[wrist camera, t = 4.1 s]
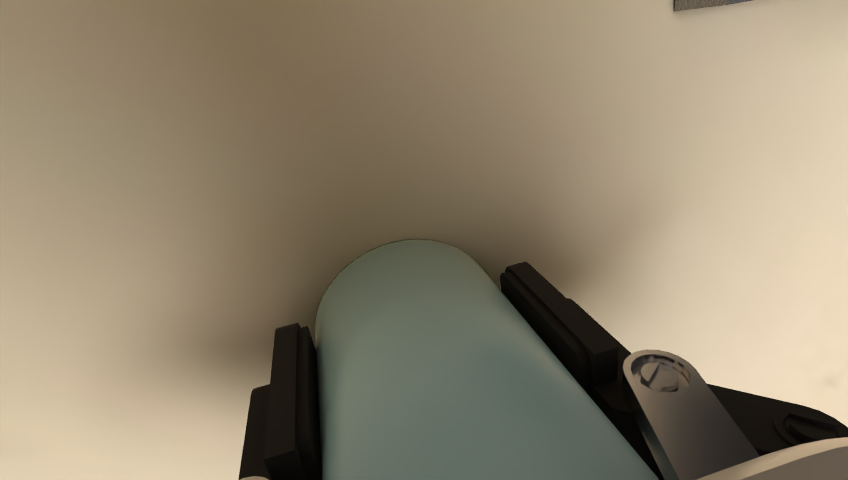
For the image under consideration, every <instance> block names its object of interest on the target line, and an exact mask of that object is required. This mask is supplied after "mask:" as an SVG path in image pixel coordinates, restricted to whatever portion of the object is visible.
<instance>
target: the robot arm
mask: <svg viewBox="0 0 848 480" xmlns="http://www.w3.org/2000/svg"><path fill="white" fill-rule="evenodd" d="M500 283H501V292H502V293H503V294H504V295H505V296H506V298H507V299H508V300H509V301H510V302H511V304H512V305H513V306H514V307H515V308H516V310H517V311H518V312H519V313H520V314H521V316H522V317H523V318H524V319H525V320H526V321H527V323H528V324H529V325H530V326H531V327H532V329H533V330H534V331H535V332H536V333H537V335H538V336H539V337H540V338H541V339H542V341H543V342H544V343H545V344H546V345H547V346H548V348H549V349H550V350H551V351H552V352H553V354H554V355H555V356H556V357H557V358H558V360H559V361H560V362H561V363H562V364H563V366H564V367H565V368H566V369H567V370H568V371H569V373H570V374H571V375H572V376H573V377H574V379H575V380H576V381H577V382H578V383H579V385H580V386H581V387H582V388H583V389H584V391H585V392H586V393H587V394H588V395H589V396H590V398H591V399H592V400H593V401H594V402H595V404H596V405H597V406H598V407H599V408H600V410H601V411H602V412H603V413H604V414H605V416H606V417H607V418H608V419H609V420H610V421H611V423H612V424H613V425H614V426H615V427H616V429H617V430H618V431H619V432H620V433H621V435H622V436H623V437H624V438H625V439H626V441H627V442H628V443H629V444H630V445H631V446H632V448H633V449H634V450H635V451H636V452H637V454H638V455H639V456H640V457H641V458H642V460H643V461H644V462H645V463H646V464H647V466H648V467H649V468H650V469H651V470H652V471H653V473H654V474H655V475H656V476H657V477H658V479H659V480H848V428H847V427H846V426H845V425H843V424H842V423H841V422H839V421H838V420H836V419H835V418H833V417H831V416H829V415H827V414H825V413H823V412H821V411H819V410H815V409H812V408H809V407H806V406H802V405H798V404H793V403H789V402H784V401H780V400H776V399H771V398H767V397H763V396H758V395H754V394H750V393H745V392H741V391H736V390H732V389H728V388H723V387H719V386H715V385H710V384H706V383H705V381H704V380H703V379H702V377H701V376H700V374H699V373H698V372H697V370H696V369H695V368H694V367H693V366H692V365H691V364H690V363H689V362H687V361H686V360H684V359H683V358H681V357H679V356H677V355H674V354H672V353H669V352H665V351H660V350H642V351H637V352H635V353H633V354H631V353H630V352H629V351H628V350H627V349H626V348H625V347H624V346H623V345H621V344H620V343H619V342H618V341H617V340H616V339H615V338H614V337H613V336H612V335H610V334H609V333H608V332H607V331H606V330H605V329H604V328H603V327H602V326H601V325H599V324H598V323H597V322H596V321H595V320H594V319H593V318H592V317H591V316H590V315H588V314H587V313H586V312H585V311H584V310H583V309H582V308H581V307H580V306H579V305H577V304H576V303H575V302H574V301H573V300H571V299H568V298H565V297H564V296H563V295H562V294H561V293H560V292H559V291H558V290H557V289H556V288H555V287H553V286H552V285H551V284H550V283H549V282H548V281H547V280H546V279H545V278H544V277H543V276H542V275H540V274H539V273H538V272H537V271H536V270H535V269H534V268H533V267H532V266H531V265H530V264H529V263H527V262H523V263H519V264H515V265H511V266H508V267H506V269H505V273H501V275H500ZM239 480H322V463H321V442H320V422H319V401H318V380H317V360H316V349H315V346H314V343H313V340H312V337H311V334H310V331H309V328H308V327H307V326H306V327H302V328H300V326H299V324H298V323H295V324H292V325H288V326H284V327H280V328H277V329H276V330H275V339H274V349H273V360H272V370H271V381H270V384H268V385H265V386H261V387H258V388H254V389H253V391H252V394H251V399H250V406H249V412H248V419H247V426H246V433H245V440H244V446H243V453H242V460H241V467H240V473H239Z"/></svg>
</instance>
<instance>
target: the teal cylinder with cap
mask: <svg viewBox="0 0 848 480" xmlns="http://www.w3.org/2000/svg"><path fill="white" fill-rule="evenodd" d="M315 339H316V360H317V380H318V401H319V422H320V442H321V463H322V480H659V479H658V477H657V476H656V475H655V474H654V473H653V471H652V470H651V469H650V468H649V467H648V466H647V464H646V463H645V462H644V461H643V460H642V458H641V457H640V456H639V455H638V454H637V452H636V451H635V450H634V449H633V448H632V446H631V445H630V444H629V443H628V442H627V441H626V439H625V438H624V437H623V436H622V435H621V433H620V432H619V431H618V430H617V429H616V427H615V426H614V425H613V424H612V423H611V421H610V420H609V419H608V418H607V417H606V416H605V414H604V413H603V412H602V411H601V410H600V408H599V407H598V406H597V405H596V404H595V402H594V401H593V400H592V399H591V398H590V396H589V395H588V394H587V393H586V392H585V391H584V389H583V388H582V387H581V386H580V385H579V383H578V382H577V381H576V380H575V379H574V377H573V376H572V375H571V374H570V373H569V371H568V370H567V369H566V368H565V367H564V366H563V364H562V363H561V362H560V361H559V360H558V358H557V357H556V356H555V355H554V354H553V352H552V351H551V350H550V349H549V348H548V346H547V345H546V344H545V343H544V342H543V341H542V339H541V338H540V337H539V336H538V335H537V333H536V332H535V331H534V330H533V329H532V327H531V326H530V325H529V324H528V323H527V321H526V320H525V319H524V318H523V317H522V316H521V314H520V313H519V312H518V311H517V310H516V308H515V307H514V306H513V305H512V304H511V302H510V301H509V300H508V299H507V298H506V296H505V295H504V294H503V293H502V292H501V291H500V289H499V288H498V287H497V286H496V285H495V283H494V282H493V281H492V280H491V279H490V277H489V276H488V275H487V274H486V273H485V271H484V270H483V269H482V268H481V267H480V266H479V264H478V263H477V262H476V261H475V260H474V259H473V258H471V257H470V256H469V255H467V254H466V253H465V252H463V251H461V250H459V249H457V248H456V247H454V246H451V245H448V244H445V243H442V242H437V241H432V240H420V239H416V240H404V241H398V242H393V243H390V244H386V245H383V246H380V247H378V248H376V249H373V250H371V251H369V252H367V253H365V254H364V255H362V256H360V257H359V258H357V259H356V260H354V261H353V262H352V263H350V264H349V265H348V266H346V267H345V268H344V269H343V270H342V271H341V272H340V273H339V274H338V275H337V277H336V278H335V279H334V280H333V282H332V283H331V284H330V285H329V287H328V289H327V291H326V292H325V294H324V296H323V298H322V300H321V303H320V305H319V308H318V312H317V316H316V323H315Z"/></svg>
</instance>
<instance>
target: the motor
mask: <svg viewBox="0 0 848 480" xmlns="http://www.w3.org/2000/svg"><path fill="white" fill-rule="evenodd" d="M746 1H751V0H675V8H674V11H679V10H687V9H696V8H704V7H712V6H721V5H728V4H734V3H740V2H746Z"/></svg>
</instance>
